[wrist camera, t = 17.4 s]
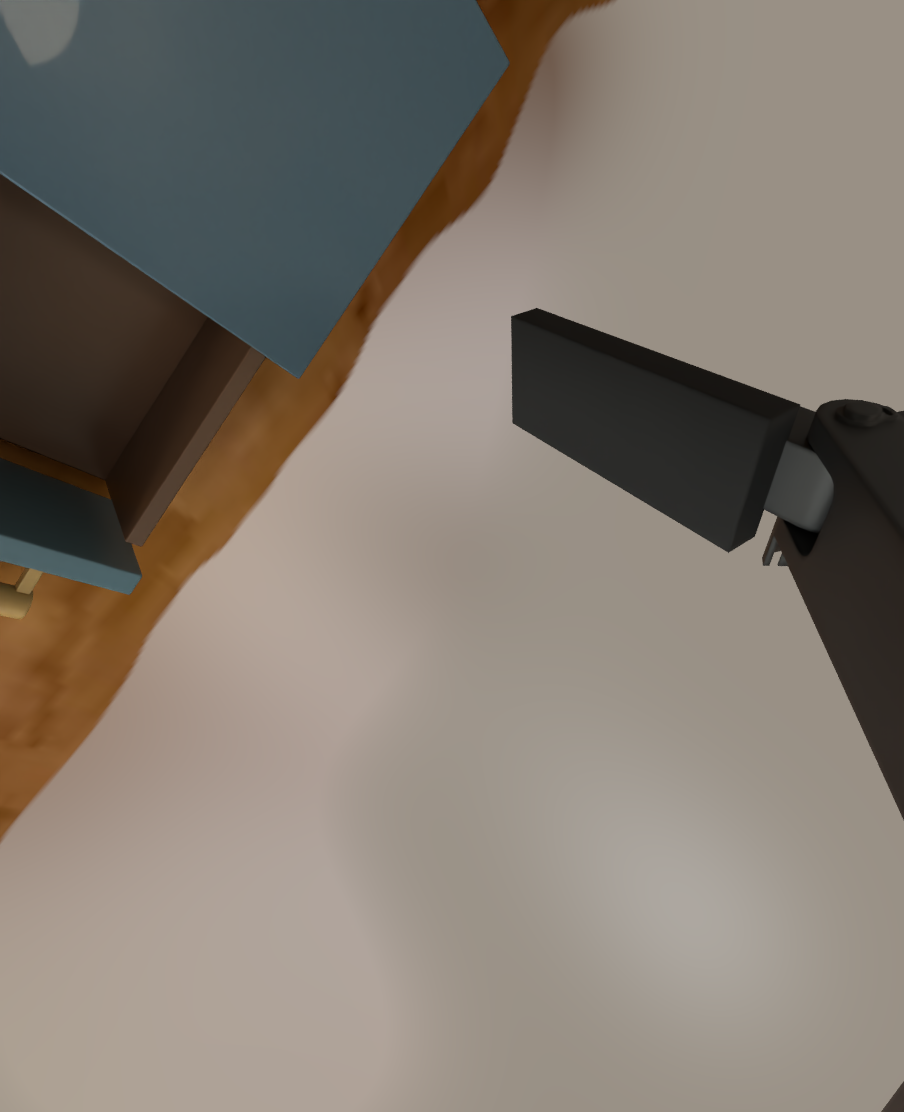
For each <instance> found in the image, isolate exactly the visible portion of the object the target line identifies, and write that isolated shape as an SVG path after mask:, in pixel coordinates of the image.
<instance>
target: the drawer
mask: <svg viewBox="0 0 904 1112" xmlns="http://www.w3.org/2000/svg"><path fill="white" fill-rule="evenodd" d="M265 358H266V356H264V355H263V354H261V353H260V352H258V351H257V350H255V349H254V348H253V347H251V346H250V345H248V344H247V343H245V342H244V341H242V340H241V339H239V338H238V337H237V336H235V335H234V334H232V333H231V332H229V331H228V330H226V329H225V328H224V327H222V326H221V325H219V324H218V323H216V322H215V321H213V320H212V319H210V318H209V317H208V316H206V315H205V314H203V313H202V312H200V311H199V310H197V309H196V308H194V307H193V306H192V305H190V304H189V303H187V302H186V301H184V300H183V299H181V298H180V297H178V296H177V295H176V294H174V293H173V292H171V291H170V290H168V289H167V288H165V287H164V286H162V285H161V284H160V283H158V282H157V281H155V280H154V279H152V278H151V277H149V276H148V275H147V274H145V273H144V272H142V271H141V270H139V269H138V268H136V267H135V266H133V265H132V264H131V263H129V262H128V261H126V260H125V259H123V258H122V257H120V256H119V255H117V254H116V253H115V252H113V251H112V250H110V249H109V248H107V247H106V246H104V245H103V244H101V243H100V242H99V241H97V240H96V239H94V238H93V237H91V236H90V235H88V234H87V233H86V232H84V231H83V230H81V229H80V228H78V227H77V226H75V225H74V224H72V223H71V222H70V221H68V220H67V219H65V218H64V217H62V216H61V215H59V214H58V213H56V212H55V211H54V210H52V209H51V208H49V207H48V206H46V205H45V204H43V203H42V202H40V201H39V200H38V199H36V198H35V197H33V196H32V195H30V194H29V193H27V192H26V191H24V190H23V189H22V188H20V187H19V186H17V185H16V184H14V183H13V182H11V181H10V180H9V179H7V178H6V177H4V176H3V175H1V174H0V438H1V439H3V440H6V441H8V442H11V443H13V444H16V445H18V446H21V447H23V448H26V449H28V450H31V451H33V452H36V453H38V454H41V455H43V456H46V457H48V458H51V459H53V460H56V461H58V462H61V463H63V464H66V465H68V466H71V467H73V468H76V469H78V470H81V471H84V472H86V473H89V474H91V475H94V476H96V477H99V478H101V479H104V480H105V482H106V485H107V488H108V491H109V494H110V497H111V500H110V499H108V498H105V497H102V496H100V495H97V494H94V493H92V492H89V491H86V490H84V489H81V488H79V487H76V486H73V485H71V484H68V483H65V482H63V481H60V480H57V479H55V478H52V477H49V476H47V475H44V474H41V473H39V472H36V471H33V470H31V469H28V468H25V467H23V466H20V465H17V464H15V463H12V462H9V461H7V460H4V459H1V458H0V561H4V562H8V563H11V564H15V565H19V566H23V567H26V568H25V570H24V571H23V573H22V574H21V576H20V578H19V579H18V581H17V582H16V584H15V586H14V585H10V584H6V583H2V582H0V615H1V616H6V617H11V618H16V619H22V618H23V617H24V616H25V615H26V614H27V612H28V610H29V608H30V606H31V603H32V600H33V591H32V590H33V588H34V586H35V585H36V583H37V582H38V580H39V579H40V577H41V575H42V574H43V572H45V573H49V574H53V575H57V576H61V577H64V578H68V579H72V580H76V581H80V582H83V583H87V584H91V585H95V586H98V587H102V588H106V589H110V590H114V591H117V592H121V593H125V594H131V592H132V591H133V589H134V588H135V586H136V585H137V583H138V582H139V580H140V579H141V577H142V574H141V571H140V568H139V565H138V562H137V559H136V556H135V553H134V550H133V548H132V545H131V543H132V544H135V545H138V546H143V544H144V543H145V541H146V540H147V538H148V537H149V535H150V533H151V532H152V530H153V529H154V527H155V526H156V524H157V523H158V521H159V520H160V518H161V517H162V515H163V514H164V512H165V511H166V509H167V507H168V506H169V504H170V503H171V501H172V500H173V498H174V497H175V495H176V494H177V492H178V491H179V489H180V488H181V486H182V485H183V483H184V481H185V480H186V478H187V477H188V475H189V474H190V472H191V471H192V469H193V468H194V466H195V465H196V463H197V462H198V460H199V459H200V457H201V455H202V454H203V452H204V451H205V449H206V448H207V446H208V445H209V443H210V442H211V440H212V439H213V437H214V436H215V434H216V433H217V431H218V429H219V428H220V426H221V425H222V423H223V422H224V420H225V419H226V417H227V416H228V414H229V413H230V411H231V410H232V408H233V407H234V405H235V403H236V402H237V400H238V399H239V397H240V396H241V394H242V393H243V391H244V390H245V388H246V387H247V385H248V384H249V382H250V381H251V379H252V377H253V376H254V374H255V373H256V371H257V370H258V368H259V367H260V365H261V364H262V362H263V361H264V359H265Z"/></svg>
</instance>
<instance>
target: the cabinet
mask: <svg viewBox="0 0 904 1112" xmlns="http://www.w3.org/2000/svg"><path fill="white" fill-rule="evenodd" d="M508 66H509V60H508V58H507V57H506V55H505V53H504V51H503V49H502V47H501V46H500V44H499V42H498V40H497V38H496V36H495V35H494V33H493V31H492V29H491V27H490V25H489V24H488V22H487V20H486V18H485V16H484V14H483V13H482V11H481V9H480V7H479V5H478V3H477V2H476V0H0V174H1V175H3V176H4V177H6V178H7V179H9V180H10V181H11V182H13V183H14V184H16V185H17V186H19V187H20V188H22V189H23V190H24V191H26V192H27V193H29V194H30V195H32V196H33V197H35V198H36V199H38V200H39V201H40V202H42V203H43V204H45V205H46V206H48V207H49V208H51V209H52V210H54V211H55V212H56V213H58V214H59V215H61V216H62V217H64V218H65V219H67V220H68V221H70V222H71V223H72V224H74V225H75V226H77V227H78V228H80V229H81V230H83V231H84V232H86V233H87V234H88V235H90V236H91V237H93V238H94V239H96V240H97V241H99V242H100V243H101V244H103V245H104V246H106V247H107V248H109V249H110V250H112V251H113V252H115V253H116V254H117V255H119V256H120V257H122V258H123V259H125V260H126V261H128V262H129V263H131V264H132V265H133V266H135V267H136V268H138V269H139V270H141V271H142V272H144V273H145V274H147V275H148V276H149V277H151V278H152V279H154V280H155V281H157V282H158V283H160V284H161V285H162V286H164V287H165V288H167V289H168V290H170V291H171V292H173V293H174V294H176V295H177V296H178V297H180V298H181V299H183V300H184V301H186V302H187V303H189V304H190V305H192V306H193V307H194V308H196V309H197V310H199V311H200V312H202V313H203V314H205V315H206V316H208V317H209V318H210V319H212V320H213V321H215V322H216V323H218V324H219V325H221V326H222V327H224V328H225V329H226V330H228V331H229V332H231V333H232V334H234V335H235V336H237V337H238V338H239V339H241V340H242V341H244V342H245V343H247V344H248V345H250V346H251V347H253V348H254V349H255V350H257V351H258V352H260V353H261V354H263V355H264V356H266V357H267V358H269V359H270V360H271V361H273V362H274V363H276V364H277V365H279V366H280V367H282V368H283V369H285V370H286V371H287V372H289V373H290V374H292V375H293V376H295V377H296V378H300V377H301V376H302V374H303V373H304V371H305V370H306V368H307V367H308V365H309V364H310V362H311V361H312V359H313V358H314V356H315V355H316V353H317V352H318V350H319V349H320V347H321V346H322V344H323V343H324V341H325V340H326V338H327V337H328V335H329V334H330V332H331V331H332V329H333V328H334V326H335V325H336V323H337V322H338V320H339V319H340V317H341V316H342V314H343V313H344V311H345V310H346V308H347V307H348V305H349V304H350V302H351V301H352V299H353V298H354V296H355V295H356V293H357V292H358V290H359V289H360V287H361V286H362V284H363V283H364V281H365V280H366V278H367V277H368V275H369V274H370V272H371V271H372V269H373V268H374V266H375V265H376V263H377V262H378V260H379V259H380V257H381V256H382V254H383V253H384V251H385V250H386V248H387V247H388V245H389V244H390V242H391V241H392V239H393V238H394V236H395V235H396V233H397V232H398V230H399V229H400V227H401V226H402V224H403V223H404V221H405V220H406V218H407V217H408V215H409V214H410V212H411V211H412V209H413V208H414V206H415V205H416V203H417V202H418V200H419V199H420V197H421V196H422V194H423V193H424V191H425V190H426V188H427V187H428V185H429V184H430V182H431V181H432V179H433V178H434V176H435V175H436V173H437V172H438V170H439V169H440V167H441V166H442V164H443V163H444V161H445V160H446V158H447V157H448V155H449V154H450V152H451V151H452V149H453V148H454V146H455V145H456V143H457V142H458V140H459V139H460V137H461V136H462V134H463V133H464V131H465V130H466V128H467V127H468V125H469V124H470V122H471V121H472V119H473V118H474V116H475V115H476V113H477V112H478V110H479V109H480V107H481V106H482V104H483V103H484V101H485V100H486V98H487V97H488V95H489V94H490V92H491V91H492V89H493V88H494V86H495V85H496V83H497V82H498V80H499V79H500V77H501V76H502V74H503V73H504V71H505V70H506V69H507V67H508Z"/></svg>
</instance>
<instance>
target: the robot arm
mask: <svg viewBox="0 0 904 1112" xmlns="http://www.w3.org/2000/svg"><path fill="white" fill-rule="evenodd" d="M511 329H512V331H511V332H512V407H513V408H512V415H513V424H515V425H517V426H518V427H520V428H522V429H523V430H525V431H527V432H528V433H530V434H532V435H533V436H535V437H537V438H538V439H540V440H542V441H543V442H545V443H547V444H548V445H550V446H552V447H554V448H555V449H557V450H558V451H560V452H562V453H563V454H565V455H567V456H568V457H570V458H572V459H573V460H575V461H577V462H578V463H580V464H582V465H583V466H585V467H587V468H588V469H590V470H592V471H593V472H595V473H597V474H599V475H600V476H602V477H603V478H605V479H607V480H608V481H610V482H612V483H613V484H615V485H617V486H618V487H620V488H622V489H623V490H625V491H627V492H629V493H630V494H632V495H633V496H635V497H637V498H639V499H640V500H642V501H644V502H645V503H647V504H648V505H650V506H652V507H653V508H655V509H657V510H658V511H660V512H662V513H664V514H665V515H667V516H669V517H670V518H672V519H673V520H675V521H677V522H678V523H680V524H682V525H683V526H685V527H687V528H689V529H690V530H692V531H693V532H695V533H697V534H698V535H700V536H702V537H703V538H705V539H707V540H709V541H710V542H712V543H713V544H715V545H717V546H718V547H720V548H722V549H723V550H725V551H727V552H728V553H729V552H730V551H732V550H733V549H735V548H737V547H738V546H740V545H742V544H743V543H745V542H746V541H748V540H750V539H751V538H753V537H754V536H755V534H756V531H757V528H758V526H759V523H760V520H761V517H762V513H763V511H764V510H766V511H768V512H770V513H772V514H774V515H776V516H777V519H776V522H775V525H774V528H773V530H772V533H771V536H770V538H769V541H768V544H767V546H766V549H765V552H764V554H763V557H762V560H763V565H764V566H765V565H766V566H769V564H770V562H771V559H772V557H773V554H774V552H778V551H782V555H781V557H780V560H779V562H778V566H788V567H789V569H790V571H791V573H792V575H793V578H794V580H795V582H796V584H797V587H798V589H799V591H800V593H801V595H802V597H803V600H804V602H805V604H806V606H807V609H808V611H809V613H810V615H811V617H812V620H813V622H814V624H815V626H816V628H817V631H818V633H819V635H820V637H821V639H822V642H823V644H824V646H825V648H826V650H827V653H828V655H829V657H830V659H831V661H832V664H833V666H834V668H835V670H836V672H837V674H838V677H839V679H840V681H841V683H842V685H843V687H844V690H845V692H846V694H847V696H848V699H849V701H850V703H851V705H852V707H853V710H854V712H855V714H856V716H857V718H858V721H859V723H860V725H861V727H862V729H863V731H864V734H865V736H866V738H867V740H868V742H869V745H870V747H871V749H872V751H873V754H874V756H875V758H876V760H877V762H878V765H879V767H880V769H881V771H882V773H883V776H884V778H885V780H886V782H887V784H888V786H889V789H890V791H891V793H892V795H893V798H894V800H895V802H896V804H897V806H898V808H899V811H900V813H901V815H902V817H903V819H904V411H900V412H896V411H894V410H893V409H891V408H890V407H887V406H883V405H880V404H877V403H871V402H867V401H863V400H848V399H844V400H835V401H829V402H827V403H824V404H822V405H821V406H820V407H819V408H818V409H817V411H816V412H814V411H811V410H809V409H806V408H803V407H800V404H797V403H794V402H792V401H789V400H786V399H783V398H780V397H778V396H775V395H773V394H770V393H767V392H764V391H762V390H759V389H756V388H753V387H751V386H748V385H745V384H742V383H740V382H737V381H734V380H732V379H729V378H726V377H724V376H721V375H718V374H715V373H712V372H710V371H707V370H704V369H702V368H699V367H696V366H694V365H690V364H688V363H685V362H683V361H680V360H677V359H674V358H672V357H669V356H666V355H664V354H661V353H658V352H655V351H653V350H650V349H647V348H644V347H642V346H639V345H636V344H634V343H631V342H628V341H625V340H623V339H620V338H617V337H614V336H612V335H609V334H606V333H604V332H601V331H598V330H595V329H593V328H590V327H587V326H585V325H582V324H579V323H576V322H574V321H571V320H568V319H565V318H563V317H559V316H557V315H555V314H552V313H549V312H546V311H544V310H541V309H538V308H536V309H533V310H530V311H527V312H523V313H520V314H517V315H514V316H511ZM882 1112H904V1082H903V1083H902V1084H901V1086H900V1087H899V1088H898V1090H897V1091H896V1093H895V1094H894V1095H893V1097H892V1098H891V1099H890V1101H889V1102H888V1103H887V1105H886V1106H885V1107H884V1109H883V1110H882Z"/></svg>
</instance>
